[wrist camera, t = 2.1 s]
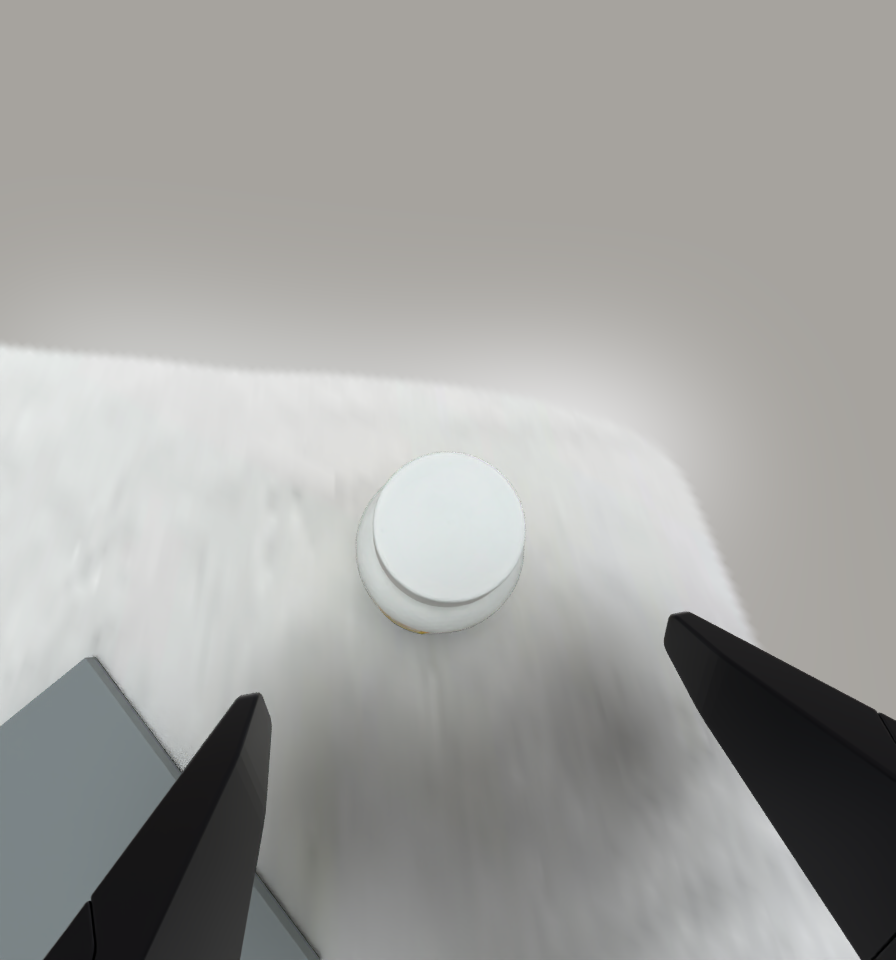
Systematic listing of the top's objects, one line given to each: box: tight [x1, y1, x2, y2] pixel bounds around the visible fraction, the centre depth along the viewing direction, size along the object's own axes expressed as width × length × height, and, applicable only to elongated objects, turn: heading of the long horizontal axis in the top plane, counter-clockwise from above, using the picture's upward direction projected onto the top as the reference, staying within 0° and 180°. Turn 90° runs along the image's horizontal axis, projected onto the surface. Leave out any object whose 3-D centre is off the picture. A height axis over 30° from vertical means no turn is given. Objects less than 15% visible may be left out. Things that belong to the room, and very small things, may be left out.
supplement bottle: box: [356, 452, 526, 634], centre depth 16 cm, size 5×5×10 cm
